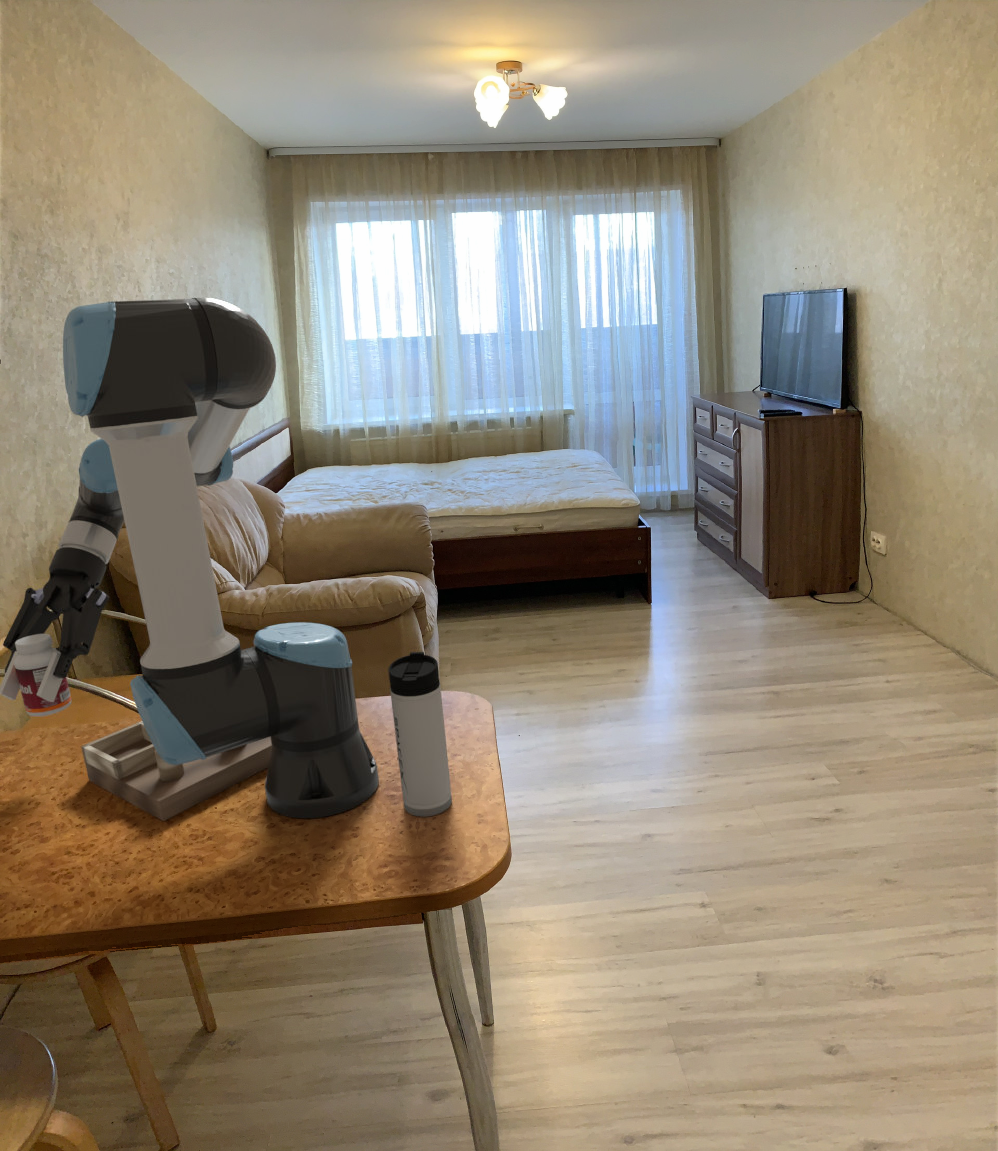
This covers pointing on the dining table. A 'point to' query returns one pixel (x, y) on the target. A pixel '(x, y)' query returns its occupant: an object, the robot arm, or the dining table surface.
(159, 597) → the robot arm
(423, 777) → the travel mug
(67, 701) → the pill bottle
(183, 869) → the dining table surface
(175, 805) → the wooden organizer tray
